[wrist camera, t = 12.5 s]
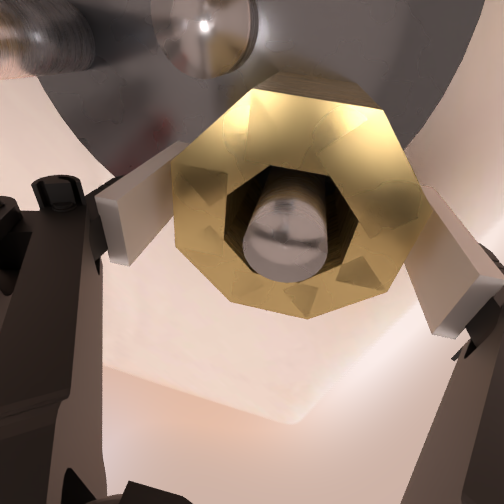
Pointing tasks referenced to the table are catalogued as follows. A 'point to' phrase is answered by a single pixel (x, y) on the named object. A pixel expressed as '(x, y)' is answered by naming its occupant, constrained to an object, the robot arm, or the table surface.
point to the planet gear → (310, 160)
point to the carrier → (232, 82)
